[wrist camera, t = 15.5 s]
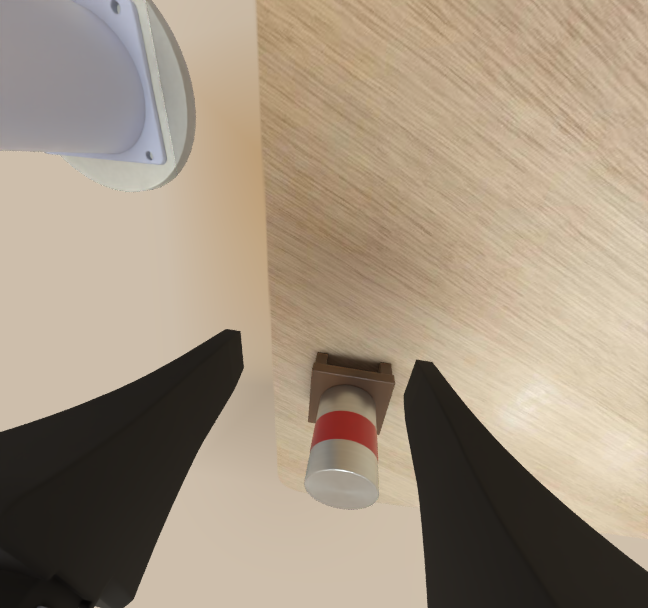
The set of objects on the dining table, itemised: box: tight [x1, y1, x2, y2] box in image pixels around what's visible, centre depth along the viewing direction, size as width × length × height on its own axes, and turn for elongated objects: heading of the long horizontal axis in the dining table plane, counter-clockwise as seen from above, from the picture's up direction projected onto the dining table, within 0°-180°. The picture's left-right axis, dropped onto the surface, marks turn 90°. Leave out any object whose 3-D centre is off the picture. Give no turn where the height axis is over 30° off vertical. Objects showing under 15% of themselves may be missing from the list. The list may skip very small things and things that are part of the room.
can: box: [304, 385, 379, 510], centre depth 20 cm, size 5×5×7 cm
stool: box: [308, 352, 395, 435], centre depth 24 cm, size 7×7×2 cm
